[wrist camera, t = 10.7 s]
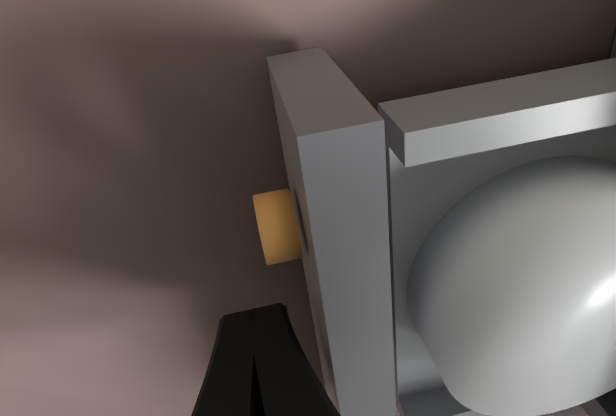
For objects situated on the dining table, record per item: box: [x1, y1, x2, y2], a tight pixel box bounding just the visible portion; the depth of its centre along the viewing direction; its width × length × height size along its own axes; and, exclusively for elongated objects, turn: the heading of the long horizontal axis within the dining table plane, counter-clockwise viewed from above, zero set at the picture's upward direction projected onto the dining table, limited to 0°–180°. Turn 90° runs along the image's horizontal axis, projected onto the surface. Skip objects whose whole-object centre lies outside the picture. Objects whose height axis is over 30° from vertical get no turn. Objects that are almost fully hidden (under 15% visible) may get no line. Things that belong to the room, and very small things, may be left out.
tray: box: [253, 47, 616, 416], centre depth 10 cm, size 11×13×4 cm
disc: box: [407, 156, 616, 416], centre depth 10 cm, size 6×6×2 cm
